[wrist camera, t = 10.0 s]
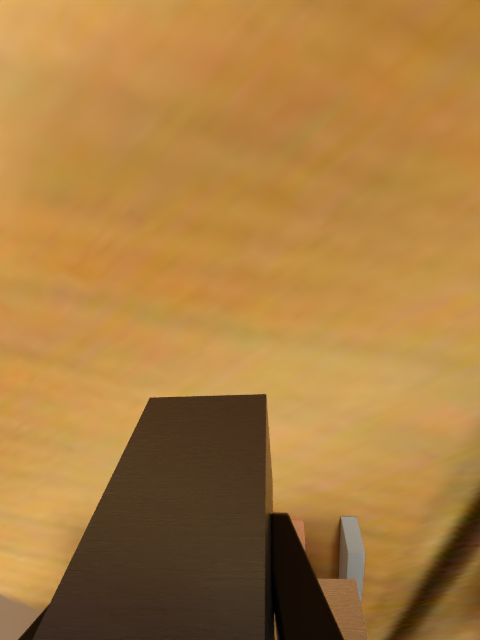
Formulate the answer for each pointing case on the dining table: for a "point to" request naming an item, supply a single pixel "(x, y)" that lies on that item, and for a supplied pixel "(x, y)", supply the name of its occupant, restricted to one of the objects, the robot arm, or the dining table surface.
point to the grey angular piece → (185, 535)
